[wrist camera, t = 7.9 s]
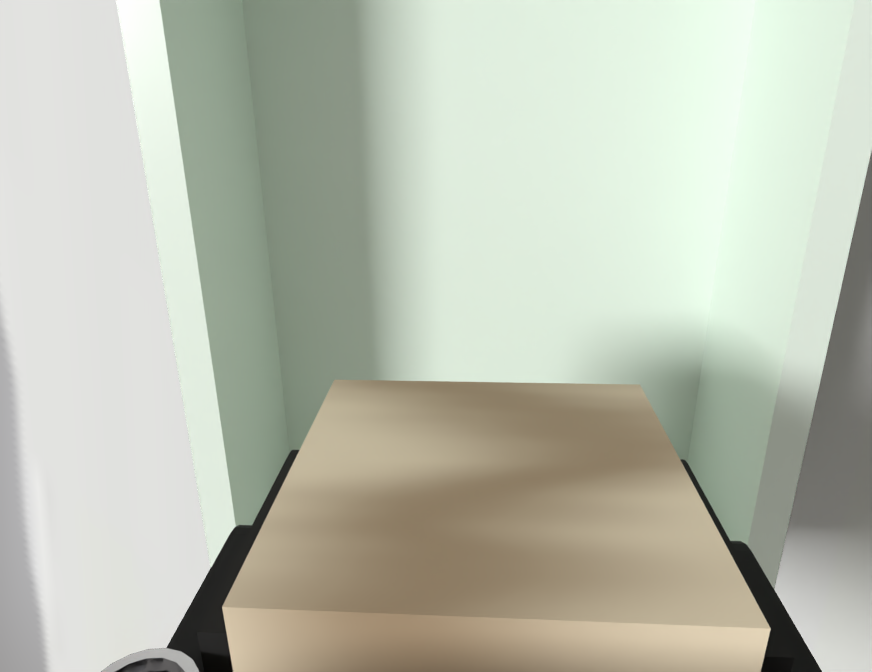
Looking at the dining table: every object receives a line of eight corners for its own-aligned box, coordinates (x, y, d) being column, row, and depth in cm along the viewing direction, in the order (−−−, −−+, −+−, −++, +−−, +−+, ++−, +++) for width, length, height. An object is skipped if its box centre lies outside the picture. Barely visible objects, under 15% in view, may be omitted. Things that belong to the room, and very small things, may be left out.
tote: (700, 500, 20) (766, 623, 15) (275, 486, 21) (215, 599, 16) (811, -187, 14) (978, -330, 9) (200, -164, 15) (69, -282, 10)
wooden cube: (640, 384, 10) (771, 629, 6) (612, 622, 12) (694, 954, 8) (334, 379, 11) (222, 607, 6) (352, 611, 12) (276, 924, 8)
